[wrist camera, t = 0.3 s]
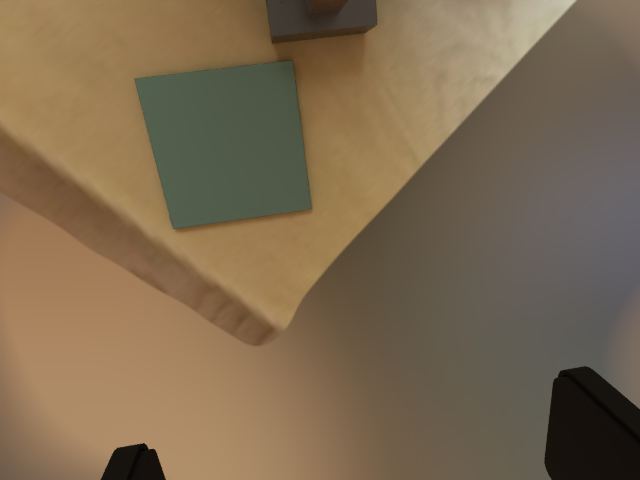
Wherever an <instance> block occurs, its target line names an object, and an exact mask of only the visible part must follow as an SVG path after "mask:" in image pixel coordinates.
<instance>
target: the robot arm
mask: <svg viewBox="0 0 640 480" xmlns="http://www.w3.org/2000/svg"><path fill="white" fill-rule="evenodd" d="M545 467H546V470H547V472H548V474H549V476H550V477H551V479H552V480H640V409H639V408H638V407H636V406H635V405H634V404H633V403H631V402H630V401H629V400H628V399H627V398H626V397H625V396H623V395H622V394H621V393H620V392H619V391H618V390H616V389H615V388H614V387H613V386H611V385H610V384H609V383H608V382H607V381H606V380H605V379H603V378H602V377H601V376H600V375H599V374H597V373H596V372H595V371H594V370H592V369H591V368H589V367H586V366H584V367H579V368H573V369H567V370H562V371H560V373H559V375H558V378H555V379H554V382H553V389H552V398H551V406H550V415H549V424H548V433H547V442H546V451H545ZM101 480H166V479H165V476H164V473H163V471H162V467H161V465H160V462H159V459H158V456H157V453H156V451H155V450H154V449H148V447H147V445H146V444H144V443H143V444H137V445H131V446H126V447H120V448H117V449H116V450H115V451H114V452H113V454H112V456H111V458H110V460H109V463H108V465H107V467H106V469H105V472H104V474H103V476H102V478H101Z"/></svg>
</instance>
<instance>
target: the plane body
mask: <svg viewBox="0 0 640 480" xmlns="http://www.w3.org/2000/svg"><path fill="white" fill-rule="evenodd" d="M266 5H267V12H268V19H269V26H270V33H271V40H272V43H280V42H289V41H298V40H307V39H316V38H324V37H333V36H342V35H351V34H359V33H366V32H368V31H369V30H370V29H372V28H373V27H375V26H376V25H377V9H376V0H266Z"/></svg>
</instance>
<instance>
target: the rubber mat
mask: <svg viewBox="0 0 640 480" xmlns="http://www.w3.org/2000/svg"><path fill="white" fill-rule="evenodd" d="M135 83H136V87H137V91H138V95H139V99H140V103H141V106H142V110H143V114H144V118H145V122H146V126H147V130H148V134H149V138H150V141H151V145H152V149H153V153H154V157H155V161H156V165H157V169H158V173H159V176H160V180H161V184H162V188H163V192H164V196H165V200H166V204H167V208H168V211H169V215H170V219H171V223H172V227H173V229H176V228H183V227H190V226H197V225H204V224H211V223H218V222H225V221H232V220H239V219H246V218H253V217H260V216H267V215H274V214H282V213H289V212H296V211H303V210H310V209H311V201H310V193H309V185H308V177H307V170H306V162H305V154H304V146H303V138H302V130H301V122H300V115H299V107H298V99H297V91H296V83H295V75H294V68H293V60H291V61H282V62H273V63H265V64H256V65H248V66H239V67H231V68H222V69H214V70H205V71H197V72H188V73H179V74H171V75H162V76H154V77H145V78H137V79H135Z"/></svg>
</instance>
